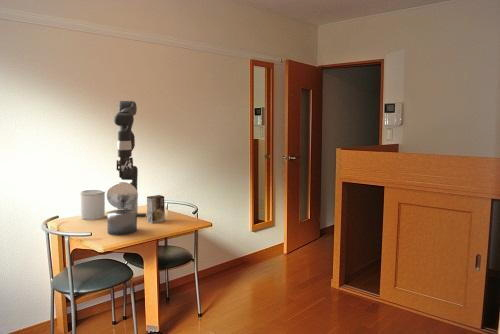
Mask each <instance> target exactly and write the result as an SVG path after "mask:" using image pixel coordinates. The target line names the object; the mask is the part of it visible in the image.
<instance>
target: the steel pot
mask: <svg viewBox="0 0 500 334" xmlns="http://www.w3.org/2000/svg"><path fill="white" fill-rule="evenodd" d="M106 215H107V216H106V218H107V219H106V221H107V225H106V226H107V234H108V235H110V236H129V235H132V234H136V233H137V232H138V218H147V213H145V212H143V213H142V212H140V213H139V212H138V214H137V211H135V210H128V209H115V210H110V211H107V213H106Z"/></svg>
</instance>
